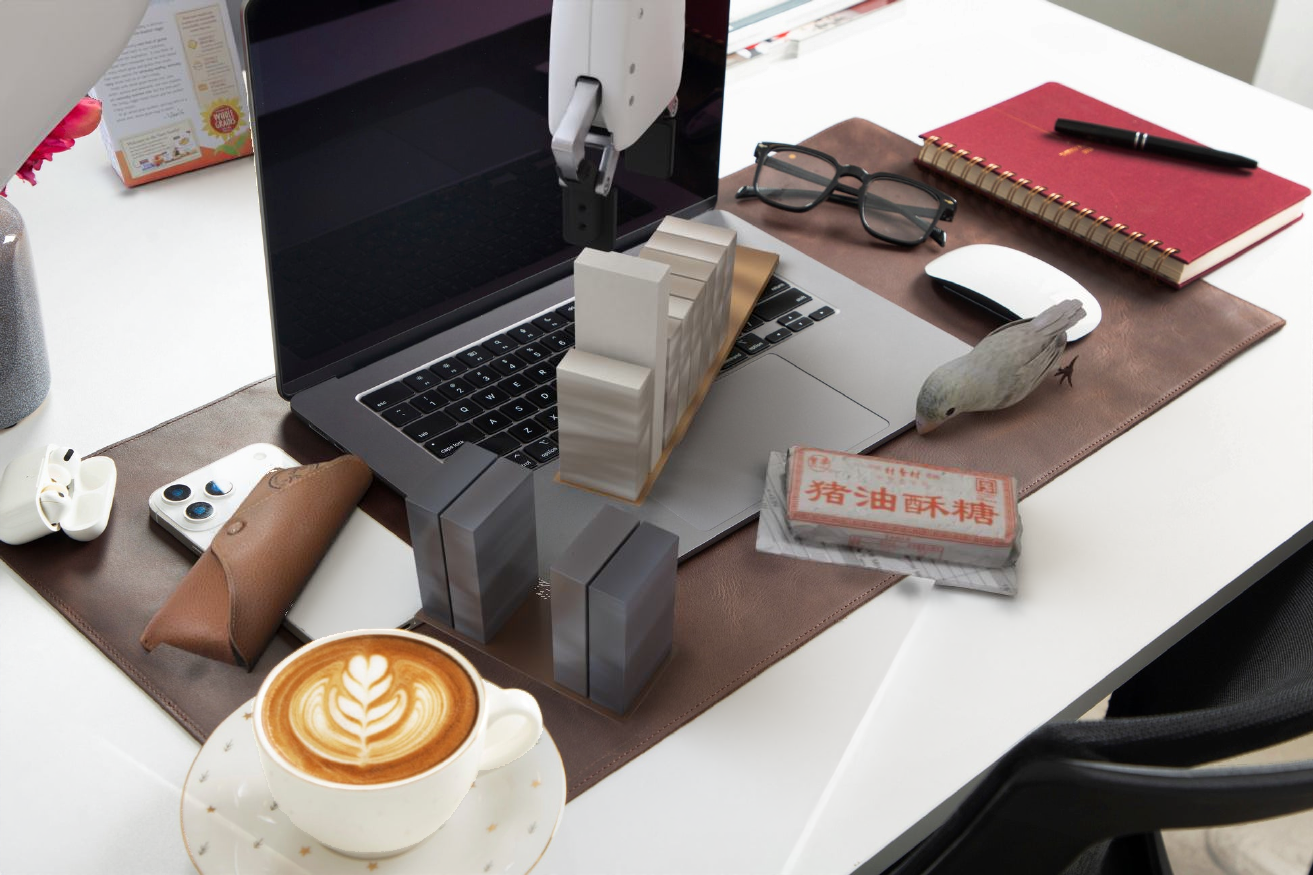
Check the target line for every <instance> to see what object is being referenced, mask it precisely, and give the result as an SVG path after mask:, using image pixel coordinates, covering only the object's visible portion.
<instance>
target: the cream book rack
mask: <svg viewBox="0 0 1313 875" xmlns="http://www.w3.org/2000/svg"><path fill="white" fill-rule="evenodd" d="M737 240H738V230H733V229H730V228H726V227H725V228H724V227H721V226H716V225H711V224H706V223H703V222H699V221H694V220H689V219H685V218H680V217H675V216H672V215H666V216H665V217H664V219H663V220H662V222H661V223H660V224H659V226H658V227H657V228H656V230H655V231H654V232H653V234H652V235H651V236H650V238H649V239H648V241H647V242H646V243H645V244H644V247H642V249H640V251H639V253H638V254H637V255H636V257H638V258H642V259H647V260H651V261H655V262H659V263H663V264H668V265H671V273H670V293H669V314H668V334H667V354H666V374H665V395H664V415H663V435H662V455H661V457H660V459H659V461H658V463H657V464H656V466H655V468H654V470H653V471H652V473H648V455H649V429H650V403H651V378H652V369H649V368H646V367H642V366H638V365H634V364H630V363H627V362H623V361H619V360H615V359H611V358H607V357H604V356H600V355H596V354H592V353H588V352H585V351H581V350H577V349H575V348H573V347H570V348H569V350H568V351H567V352H566V353H565V355H564V356H563V358H562V359H561V361H560V362H559V363H558V365H557V366H556V395H557V396H556V399H557V426H558V457H559V460H558V461H559V469H558V471H557V472H556V474H555V475H554V477H553V479H552V482H554V483H557V482H558V484H561V485H565V486H567V487H571V488H573V489H574V488H575V489H578V488H579V489H578V490H581V491H585V492H588V493H591V494H594V495H598V496H601V497H605V498H608V499H612V500H616V501H620V502H621V503H622V502H623V503H626V504H629V505H633V506H636V507H639V508H641V507H642V506H643V504H644V502H645V500H646V498H647V496H648V495H649V492H650V491H651V489H652V487H653V486H654V483H656V480H657V479H658V477H659V475H660V473H661V471H662V470H663V467H664V465H665V464H666V462H667V460H668V458H669V456H670V455H671V453H672V451H673V449H674V447H675V446H680V444H681V442H682V441H683V439H684V437H685V435H686V433H687V431H688V430H689V428H690V426H691V424H692V422H693V421H694V419H695V417H696V415H697V413H698V411H699V410H700V408H701V406H702V404H703V403H704V400H705V399H706V397H707V395H708V393H709V392H710V389H711V387H712V386H713V384H714V382H715V381H716V379H717V377H718V375H719V373H720V371H721V370H722V367H723V366H724V364H725V362H726V361H727V358H728V357H729V355H730V353H731V351H732V349H733V347H734V346H735V343H736V342H737V340H738V338H739V336H740V334H741V333H742V331H743V329H744V327H745V325H746V324H747V322H748V321H749V318H750V316H751V315H752V313H753V311H754V309H755V307H756V306H757V303H758V302H759V301H760V298H761V296H762V294H763V292H764V291H765V289H766V287H767V285H768V283H769V282H770V279H771V278H772V276H773V274H774V273H775V271H776V269H777V267H778V265H779V263H780V254H779V253H775V252H770V251H766V250H761V249H757V248H753V247H749V246H744V245H740V244H737Z"/></svg>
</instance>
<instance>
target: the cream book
mask: <svg viewBox="0 0 1313 875" xmlns="http://www.w3.org/2000/svg"><path fill="white" fill-rule="evenodd" d="M670 273H671V265H668V264H663V263H659V262H655V261H651V260H647V259H642V258H638V257H637V256H634V255H629V254H625V253H622V252H617V251H614V250H612V251H611V252H603V251H599V250H595V249H591V248H586V247H584V248H583V249H582V251H581V252H580V253H579V255H578V256H577V257H576V258H575V260H574V261H573V280H574V281H573V285H574V290H573V291H574V330H575V331H574V336H575V337H574V340H575V341H574V342H575V343H574V344H575V346H574V347H575V348H574V349H577V350H581V351H585V352H588V353H592V354H596V355H600V356H604V357H607V358H611V359H615V360H619V361H623V362H627V363H630V364H634V365H638V366H642V367H646V368H649V369H652V378H651V403H650V429H649V455H648V473H652V471H653V470H654V468H655V466H656V464H657V463H658V461H659V459H660V457H661V455H662V435H663V415H664V395H665V374H666V354H667V334H668V314H669V293H670Z"/></svg>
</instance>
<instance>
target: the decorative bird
mask: <svg viewBox="0 0 1313 875" xmlns="http://www.w3.org/2000/svg"><path fill="white" fill-rule="evenodd" d="M1083 306H1084V304H1083V301H1081V300H1080V299H1077V298H1074V299H1064V300H1062V301H1060V302H1059V303H1058V304H1053V305H1051V306H1050V307H1048V308H1047V309H1044V311H1042V312H1040V313H1039V314H1038V315H1037V316H1033V317H1028V318H1027V317H1025V318H1021V319H1017V320H1014V321H1011V322H1008V323H1006V324H1003V325H1001V326H1000V327H998V328H995V330H993V331H991V332H990V333H988V334H987V335H986V336H985V337H984V338H983V339H982V340H980V342H979V343H977V344H976V345H975V346H974V347H973V348H972V349H971V350H970V351H969V352H968V353H967V354H964V355H962V356H959V357H957V358H954V359H952V360H950V361H948V362H946V363H944V364H942V365H940V366H938V367H937V368H936V369H934V370H933V371H932V372H931V374H929V376H927V378H926V379H925V380H924V382H923V384H922V386H921V388H920V389H919V392H918V395H917V398H916V404H915V426H916V430H917V434H918V435H919V436H922V435H925V434H927V433H929V432H931V431H932V430H934V429H936V428H937V427H939V426H940V425H943V423H944V422H946V421H948V420H950V419H952V418H954V417H956V416H957V415H959V414H960V413H962V412H963V413H970V412H982V411H983V412H984V411H985V412H986V411H998V410H1002V409H1007V408H1010V407H1012V406H1014V405H1015V404H1017V403H1019V402H1020V401H1022V400H1023V399H1024V398H1026V397H1027V396H1028V395H1030V394H1031V393H1032V392H1033V391H1034V390H1035V389H1037V387H1039V386H1040V384H1041V383H1042V382H1044V380H1045V379H1046V378H1047V376H1048V375H1049V374H1050V372H1052V371H1057V372H1056V373H1054V374H1053V378H1054V377H1055V378H1056V377H1058V376H1061V375H1062V376H1061V378H1060V379H1059V386H1061V385H1062V383H1063V382H1064V381H1065V379H1066V378H1067V382H1068V385H1069V387H1070V388H1071V389H1073V388H1074V387H1073V384H1072V376H1073V373H1074V364H1075V362H1076V361H1077V359H1078V358H1079V357H1080V354H1078V355H1076V356H1074V357H1073V358H1072V360H1071V361H1070V363H1069V365H1066V366H1064V368H1062V367H1061V365H1060V363H1059V361H1060V360H1061V357H1062V355H1063V354H1064V351H1065V348H1066V346H1067V343H1068V333H1067V330H1070V329H1071V328H1073V327H1074V326H1076V325H1077V324H1078V322H1079V321H1081V320H1083V319H1084V318H1085V317H1086V316H1087V315H1088V312H1087V311H1086V310H1085V308H1083Z"/></svg>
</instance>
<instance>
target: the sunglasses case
mask: <svg viewBox="0 0 1313 875" xmlns="http://www.w3.org/2000/svg"><path fill="white" fill-rule="evenodd" d="M272 470H277V471H274V472H270V471H272ZM268 472H269V473H268ZM268 472H267V473H268V474H267V473H265V474H264V475H263V477H262V478H260V480H259V481H258V483H256V485H255V486H254V487H253V488H252V489H251V491H250V492H249V493H248V495H247V496H246V497H245V498H244V499H243V501H242V502H241V504H240V505H239V506H238V508H236V510H235V512H234V513H233V514H232V515H231V517H229V519H228V520H227V521H226V522H225V523H223V525H222V526H221V528H220V529H219V530H218V531H217V533H215V535H214V536H213V538H212V539H211V542H210V544H209V545H208V546H207V548H206V549H205V551H204V552H203V553H202V555H201V556H200V557H199V558H198V560H197V561H196V562H195V563H194V565H193V566H192V567H191V569H189V571H188V572H187V573H186V574H185V576H184V577H183V578H182V580H180V582H179V584H178V585H177V586H176V587H175V589H174V590H173V591H172V592H171V594H169V596H168V598H167V599H166V600H165V602H164V603H163V604H162V605H161V606H160V608H159V609H158V610H157V612H156V613H155V614H154V615H153V617H152V619H151V620H150V621H149V622H148V624H147V625H146V627H145V628H144V630H143V632H142V634H141V636H140V638H139V641H138V642H139V643H140V645H141V646H142V648H143V649H144V650H146V651H147V652H149V653H151V652H152V651H154V650H155V649H156V648H157V647H158V646H159V645H160V644H161V643H163V644H166V645H168V646H170V647H173V648H175V649H180V650H181V651H184V652H187V653H189V654H192V655H198V656H200V657H203V658H207V659H208V660H209V659H210V660H213V661H218V662H221V663H224V664H226V665H230V666H233V667H238V668H244V669H246V672H247V674H249V673H251V671H252V670H253V669H254V667H255V666H256V664H257V663H258V661H260V659H261V657H262V656H263V654H264V653H265V651H266V650H267V648H268V646H269V645H270V643H271V642H272V640H273V638H274V637H275V635H276V633H277V632H278V630H279V628H280V626H281V625H282V623H283V621H284V620H285V618H286V616H285V614H286V612H287V611H288V610H289V609H290V607H291V605H292V604H293V603H294V604H295V602H296V600H297V599H298V597H299V596H300V593H301V592H302V590H303V588H304V587H305V586H306V585H307V583H308V582H309V580H310V578H311V576H312V575H313V573H314V572H315V571H316V570H317V568H318V566H319V564H320V563H321V561H322V560H323V558H324V556H325V555H326V554H327V552H328V550H329V549H330V547H331V545H332V544H333V543H334V541H335V539H336V538H337V536H338V535H339V533H340V531H341V530H342V528H343V527H344V526H345V524H346V522H347V521H348V520H349V518H350V517H351V515H352V513H353V512H354V511H355V509H356V508H357V506H358V505H359V503H360V502H361V501H362V499H363V497H364V496H365V494H366V493H367V492H368V490H369V488H370V487H371V485H372V483H373V481H374V480H373V478H374V477H373V472H372V470H371V468H370V466H369V465H368V463H367V462H366V461H365V460H364V459H363V458H361V457H360V456H358V455H354V454H350V453H349V454H344V455H340V456H338V457H336V458H334V459H333V460H330V461H322V462H318V463H317V462H316V463H311V464H305V465H298V466H293V467H292V466H291V467H286V468H283V467H277V466H276V467H274V468H273V469H271V470H269V471H268ZM294 604H293V605H294ZM293 605H292V606H293ZM291 608H292V607H291ZM290 610H291V609H290ZM290 610H289V611H290ZM284 617H285V618H284Z"/></svg>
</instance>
